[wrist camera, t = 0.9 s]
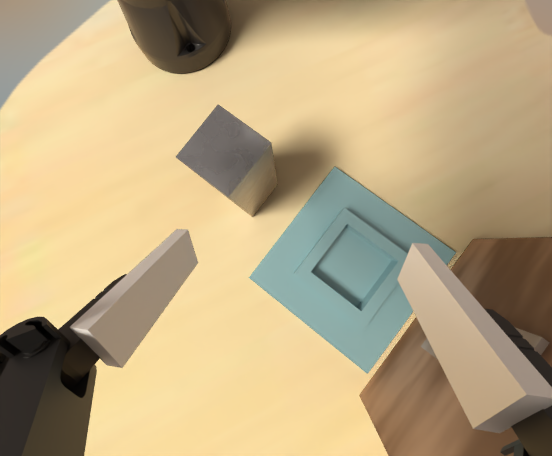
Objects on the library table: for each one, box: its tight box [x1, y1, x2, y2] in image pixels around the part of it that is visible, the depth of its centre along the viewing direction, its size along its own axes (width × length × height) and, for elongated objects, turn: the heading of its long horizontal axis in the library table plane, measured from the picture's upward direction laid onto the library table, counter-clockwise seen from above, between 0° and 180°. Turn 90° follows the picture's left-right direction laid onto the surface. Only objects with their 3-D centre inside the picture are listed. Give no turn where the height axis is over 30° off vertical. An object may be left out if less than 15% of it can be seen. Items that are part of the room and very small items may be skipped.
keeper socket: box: [249, 167, 456, 374], centre depth 26 cm, size 20×20×2 cm
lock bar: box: [176, 105, 278, 217], centre depth 23 cm, size 6×6×12 cm
